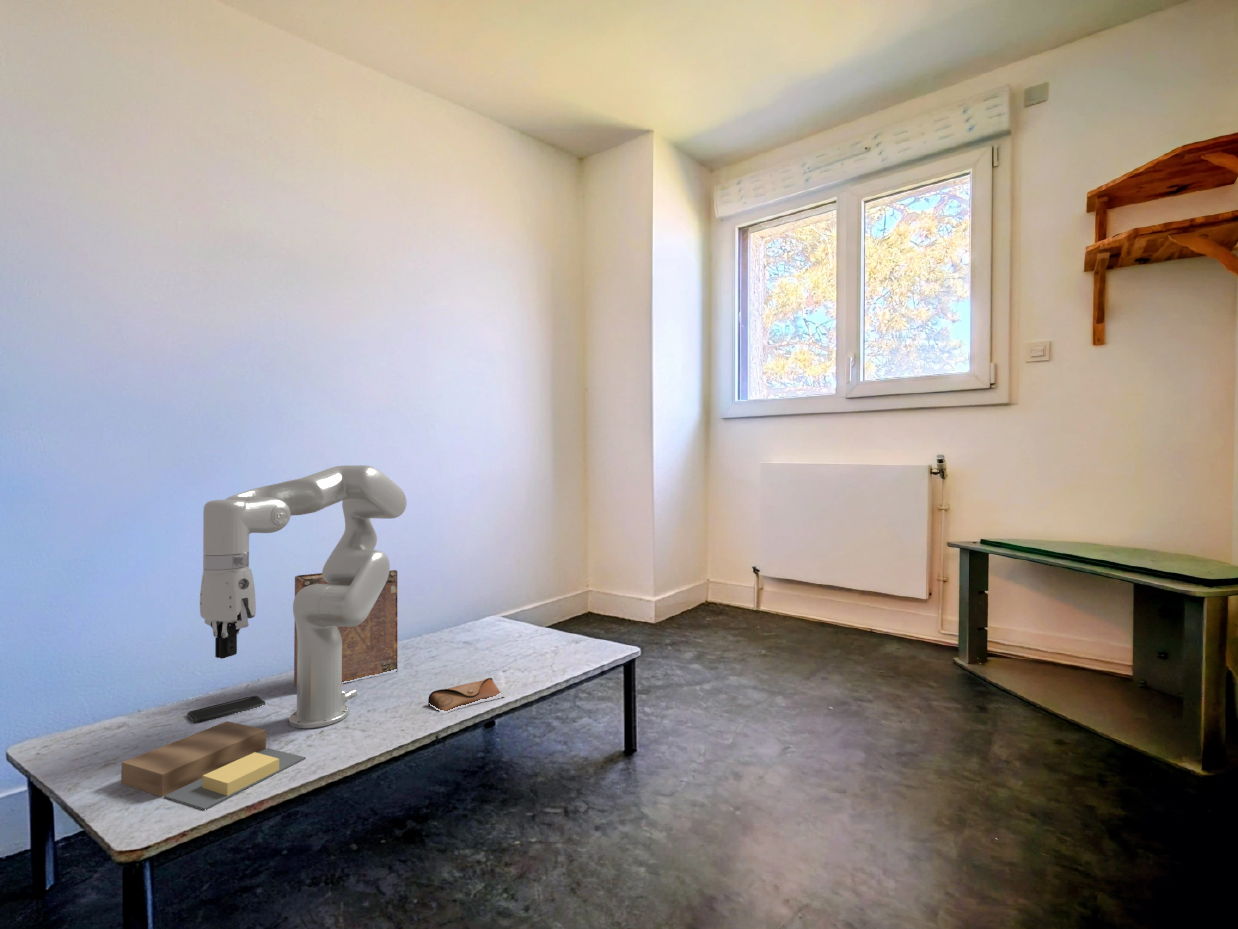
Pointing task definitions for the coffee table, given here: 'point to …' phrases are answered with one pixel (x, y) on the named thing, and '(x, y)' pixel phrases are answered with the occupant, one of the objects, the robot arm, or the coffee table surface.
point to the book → (364, 633)
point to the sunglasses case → (463, 694)
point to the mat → (207, 798)
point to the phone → (225, 709)
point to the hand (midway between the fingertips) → (226, 656)
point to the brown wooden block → (191, 758)
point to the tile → (240, 773)
